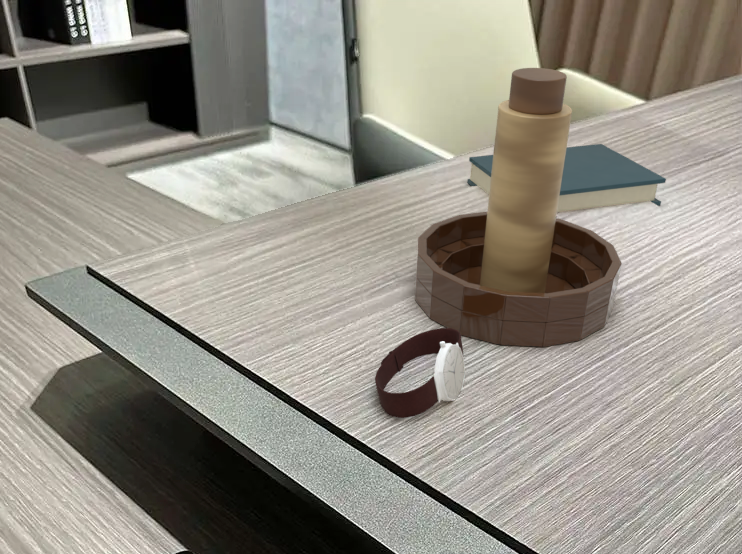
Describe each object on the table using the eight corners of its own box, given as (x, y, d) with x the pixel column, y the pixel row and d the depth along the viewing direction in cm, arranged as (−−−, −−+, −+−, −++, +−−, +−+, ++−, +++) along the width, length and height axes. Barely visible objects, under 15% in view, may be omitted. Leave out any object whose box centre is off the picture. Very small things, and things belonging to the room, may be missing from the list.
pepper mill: (524, 277, 59) (553, 63, 51) (555, 306, 55) (592, 80, 47) (468, 285, 57) (489, 67, 50) (496, 315, 54) (524, 85, 46)
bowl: (546, 251, 64) (553, 203, 62) (649, 335, 53) (662, 280, 51) (387, 273, 60) (389, 223, 58) (463, 368, 49) (469, 310, 47)
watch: (433, 439, 43) (438, 382, 41) (354, 414, 45) (355, 359, 43) (480, 368, 49) (486, 315, 47) (408, 348, 51) (411, 297, 49)
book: (597, 168, 80) (601, 143, 79) (660, 205, 72) (666, 178, 71) (466, 182, 76) (469, 157, 75) (518, 223, 68) (521, 195, 67)
